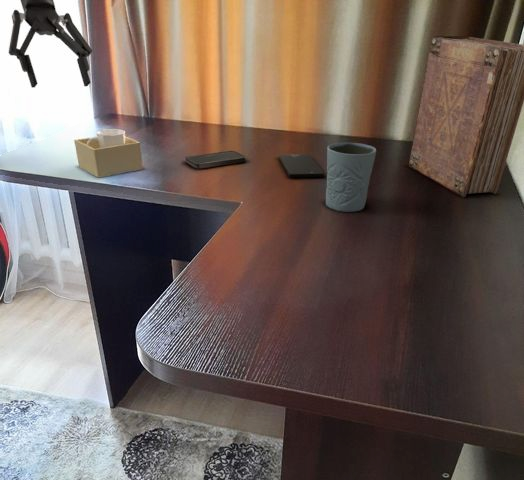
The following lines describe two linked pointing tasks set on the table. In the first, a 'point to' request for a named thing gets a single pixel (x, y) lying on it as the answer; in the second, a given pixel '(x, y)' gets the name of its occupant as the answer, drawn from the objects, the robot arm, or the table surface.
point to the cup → (109, 137)
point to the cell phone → (300, 165)
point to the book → (468, 112)
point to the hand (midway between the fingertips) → (61, 85)
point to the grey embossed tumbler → (348, 175)
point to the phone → (215, 159)
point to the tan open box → (108, 157)
